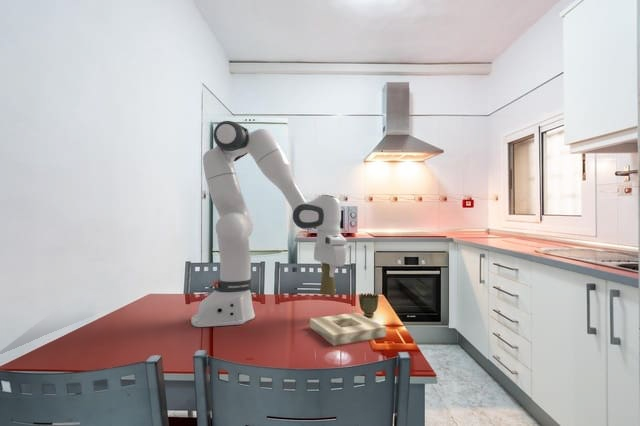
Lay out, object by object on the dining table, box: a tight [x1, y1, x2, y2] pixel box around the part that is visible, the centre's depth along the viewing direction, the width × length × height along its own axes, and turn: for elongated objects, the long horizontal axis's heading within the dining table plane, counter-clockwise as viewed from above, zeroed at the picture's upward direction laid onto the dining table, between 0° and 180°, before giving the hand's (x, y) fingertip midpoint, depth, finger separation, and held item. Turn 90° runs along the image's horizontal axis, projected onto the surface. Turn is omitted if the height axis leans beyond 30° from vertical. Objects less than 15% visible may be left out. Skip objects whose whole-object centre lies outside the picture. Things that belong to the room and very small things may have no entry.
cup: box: [358, 292, 379, 318], centre depth 125 cm, size 8×7×8 cm
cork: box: [319, 263, 337, 296], centre depth 125 cm, size 6×6×11 cm
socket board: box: [309, 312, 387, 346], centre depth 108 cm, size 18×18×3 cm
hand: (327, 275), depth 125 cm, fingers closed on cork, 4 cm apart
